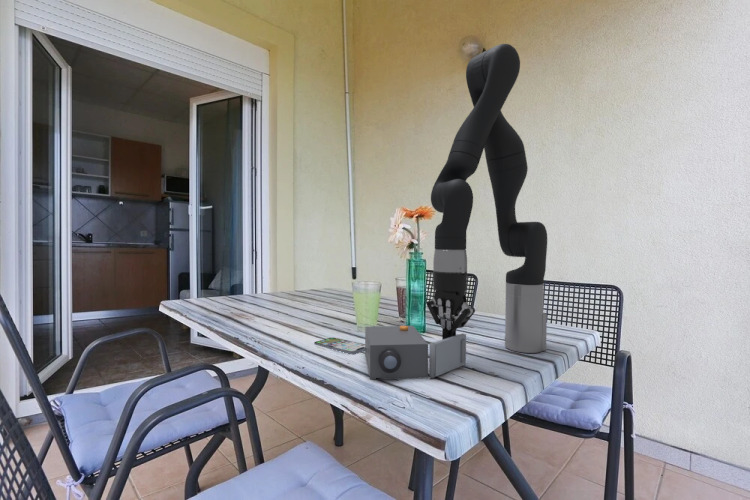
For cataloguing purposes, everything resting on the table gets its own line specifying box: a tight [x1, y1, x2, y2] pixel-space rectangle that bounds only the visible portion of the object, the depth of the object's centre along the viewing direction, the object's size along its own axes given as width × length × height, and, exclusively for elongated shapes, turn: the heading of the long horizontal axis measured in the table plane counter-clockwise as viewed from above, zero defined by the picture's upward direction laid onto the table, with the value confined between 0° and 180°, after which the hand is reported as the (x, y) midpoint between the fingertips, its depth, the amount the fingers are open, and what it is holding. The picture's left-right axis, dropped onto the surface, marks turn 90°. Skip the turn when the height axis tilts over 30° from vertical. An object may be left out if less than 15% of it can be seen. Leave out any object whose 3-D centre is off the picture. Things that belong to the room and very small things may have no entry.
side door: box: [428, 333, 467, 379], centre depth 77 cm, size 2×12×7 cm, turn 133°
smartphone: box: [314, 337, 365, 355], centre depth 96 cm, size 7×1×15 cm
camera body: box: [364, 325, 429, 380], centre depth 81 cm, size 12×17×8 cm
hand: (449, 344), depth 82 cm, fingers closed
